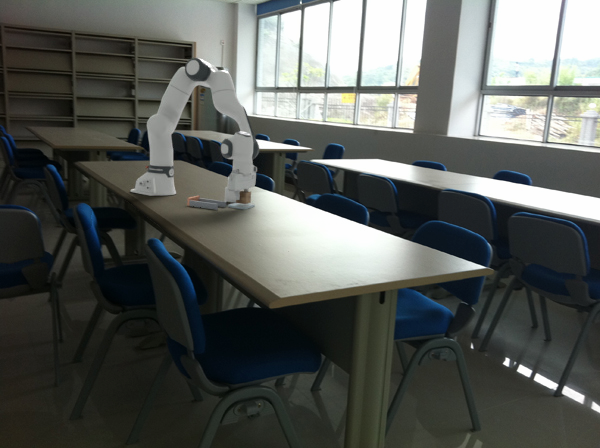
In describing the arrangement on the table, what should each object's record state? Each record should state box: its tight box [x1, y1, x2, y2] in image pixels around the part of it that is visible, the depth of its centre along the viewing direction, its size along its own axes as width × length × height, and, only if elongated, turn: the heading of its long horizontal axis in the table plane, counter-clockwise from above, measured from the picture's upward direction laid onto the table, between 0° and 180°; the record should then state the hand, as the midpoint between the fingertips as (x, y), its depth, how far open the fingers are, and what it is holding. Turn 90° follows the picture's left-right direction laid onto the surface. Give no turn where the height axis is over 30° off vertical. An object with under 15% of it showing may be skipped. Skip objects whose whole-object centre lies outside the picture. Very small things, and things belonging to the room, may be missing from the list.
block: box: [236, 190, 252, 204], centre depth 236 cm, size 5×5×5 cm
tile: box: [227, 202, 255, 210], centre depth 237 cm, size 9×9×1 cm
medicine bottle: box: [224, 176, 244, 203], centre depth 249 cm, size 7×7×12 cm
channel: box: [187, 195, 228, 211], centre depth 233 cm, size 15×8×4 cm, turn 68°
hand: (241, 198), depth 236 cm, fingers closed on block, 5 cm apart
